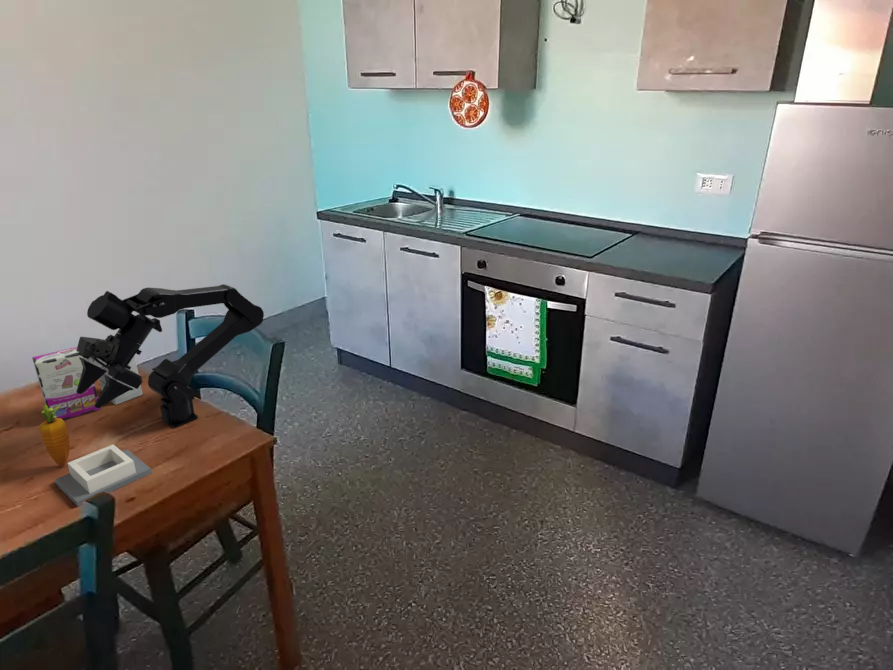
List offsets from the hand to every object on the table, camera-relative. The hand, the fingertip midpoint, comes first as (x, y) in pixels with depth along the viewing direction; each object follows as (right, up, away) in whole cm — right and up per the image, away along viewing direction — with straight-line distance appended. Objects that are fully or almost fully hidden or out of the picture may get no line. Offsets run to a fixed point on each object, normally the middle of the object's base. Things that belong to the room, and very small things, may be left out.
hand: (87, 400), depth 137 cm
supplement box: (-7, -2, +29) cm, 30 cm away
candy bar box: (-15, -5, +21) cm, 26 cm away
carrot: (-5, -15, 0) cm, 15 cm away
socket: (+6, -16, -4) cm, 18 cm away
